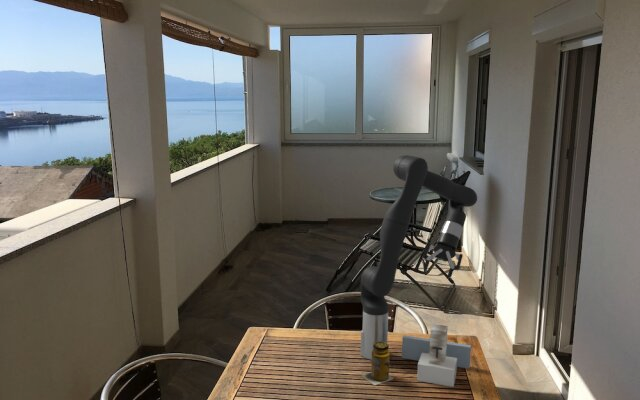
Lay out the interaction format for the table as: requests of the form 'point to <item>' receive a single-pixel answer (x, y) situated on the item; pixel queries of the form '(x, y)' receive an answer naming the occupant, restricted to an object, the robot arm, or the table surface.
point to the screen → (417, 346)
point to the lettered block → (438, 344)
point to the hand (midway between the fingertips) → (436, 274)
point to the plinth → (437, 371)
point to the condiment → (379, 364)
